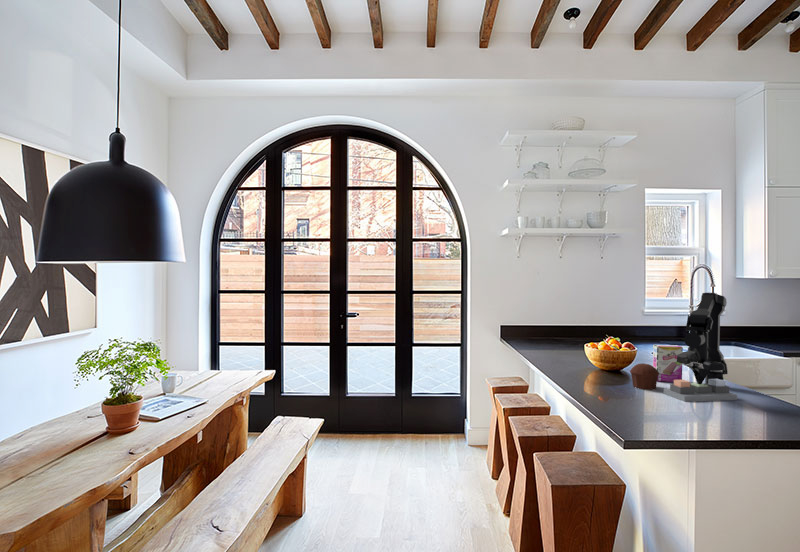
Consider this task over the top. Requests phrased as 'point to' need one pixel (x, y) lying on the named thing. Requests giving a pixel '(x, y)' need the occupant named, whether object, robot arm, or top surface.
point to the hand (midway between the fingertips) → (699, 384)
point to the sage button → (699, 385)
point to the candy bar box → (667, 362)
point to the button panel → (700, 393)
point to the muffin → (644, 376)
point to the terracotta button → (681, 383)
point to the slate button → (716, 382)
